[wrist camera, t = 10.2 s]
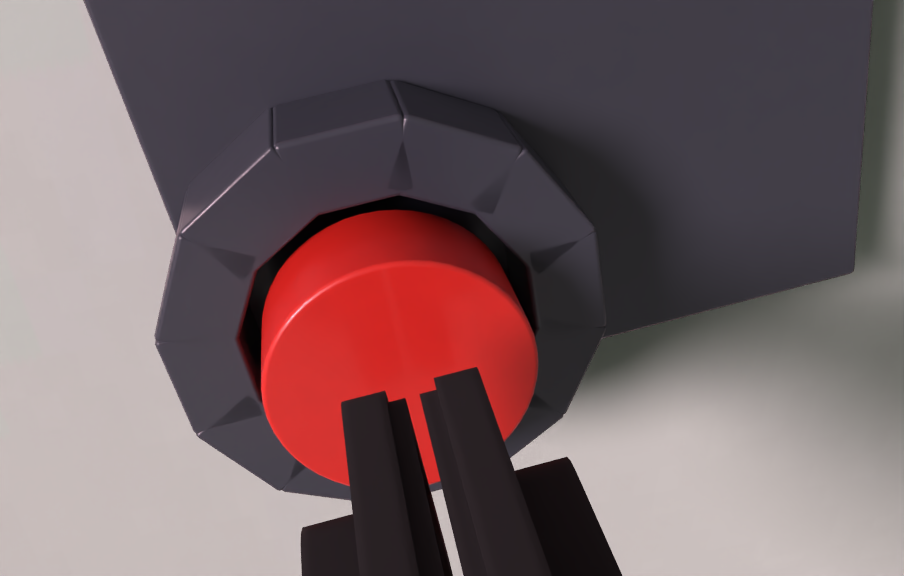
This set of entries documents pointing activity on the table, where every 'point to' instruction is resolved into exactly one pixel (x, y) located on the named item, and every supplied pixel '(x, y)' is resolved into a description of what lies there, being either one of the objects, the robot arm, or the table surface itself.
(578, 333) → the button block
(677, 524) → the table surface
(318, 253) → the button
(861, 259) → the table surface
